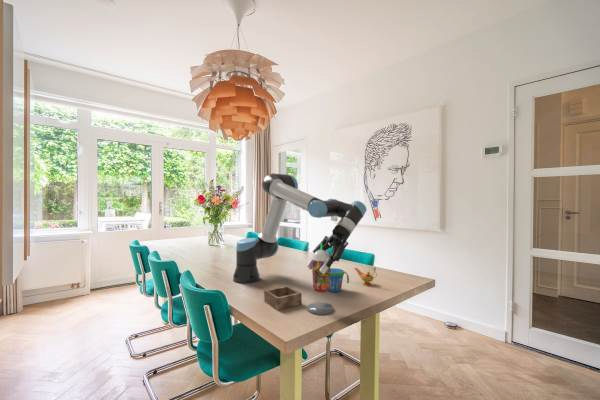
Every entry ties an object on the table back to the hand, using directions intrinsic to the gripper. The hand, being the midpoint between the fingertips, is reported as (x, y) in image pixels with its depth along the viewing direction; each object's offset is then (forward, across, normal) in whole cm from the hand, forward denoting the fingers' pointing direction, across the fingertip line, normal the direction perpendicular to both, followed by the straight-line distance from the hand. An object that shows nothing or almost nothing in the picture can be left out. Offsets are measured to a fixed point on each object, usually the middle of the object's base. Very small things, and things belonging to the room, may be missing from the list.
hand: (315, 269), depth 117 cm
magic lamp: (-20, +16, -46) cm, 53 cm away
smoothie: (+4, 0, -9) cm, 10 cm away
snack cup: (-5, +17, -30) cm, 35 cm away
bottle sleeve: (+17, +16, -8) cm, 24 cm away
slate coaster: (+10, 0, -15) cm, 18 cm away
